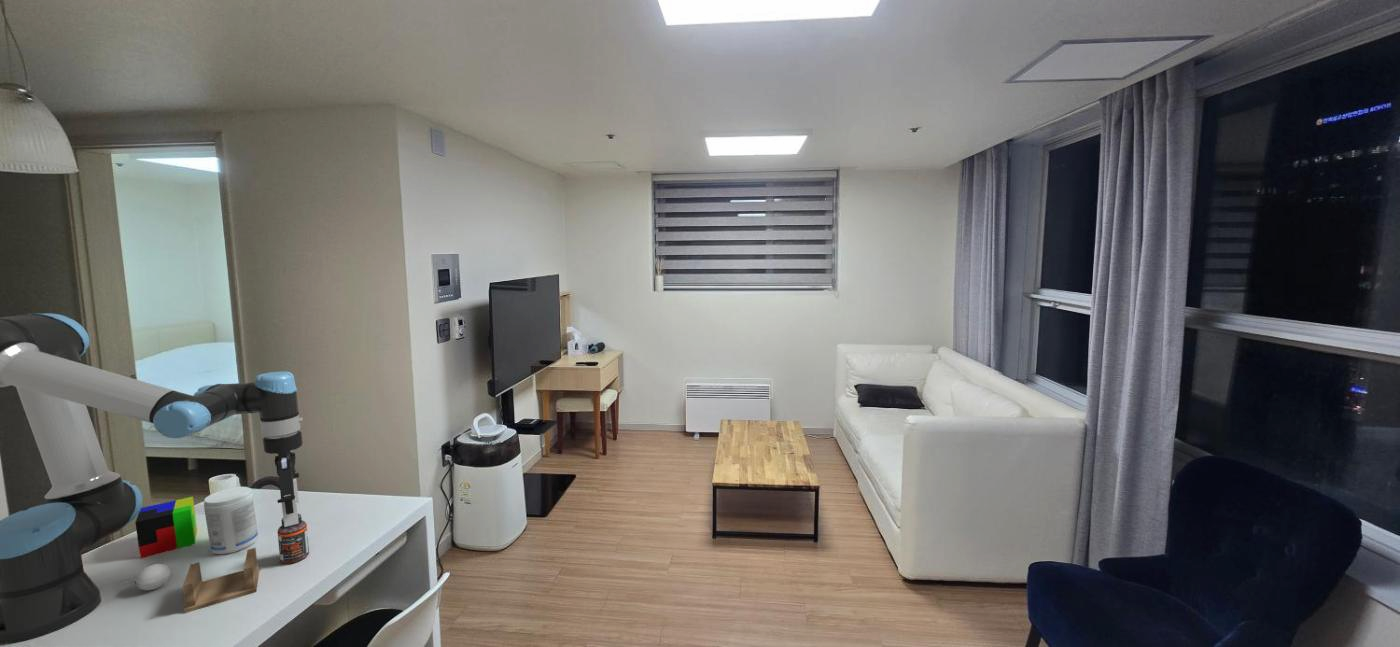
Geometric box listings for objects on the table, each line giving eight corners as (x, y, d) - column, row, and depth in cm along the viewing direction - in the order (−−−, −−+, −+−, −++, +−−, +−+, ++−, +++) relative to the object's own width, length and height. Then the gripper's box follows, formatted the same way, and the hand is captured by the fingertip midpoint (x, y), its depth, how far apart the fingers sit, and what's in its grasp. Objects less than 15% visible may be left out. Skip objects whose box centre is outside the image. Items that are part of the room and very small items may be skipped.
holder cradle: (184, 613, 112) (180, 587, 111) (192, 587, 121) (189, 563, 120) (256, 591, 119) (253, 567, 119) (259, 568, 128) (257, 546, 127)
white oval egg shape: (177, 578, 124) (174, 556, 123) (162, 592, 119) (159, 570, 118) (136, 585, 122) (132, 563, 121) (118, 600, 116) (115, 577, 116)
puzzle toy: (145, 542, 140) (140, 507, 138) (197, 529, 146) (192, 496, 145) (140, 558, 132) (135, 522, 131) (194, 544, 139) (190, 509, 137)
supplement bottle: (280, 567, 128) (275, 525, 127) (280, 557, 133) (275, 516, 132) (310, 559, 132) (306, 517, 131) (309, 548, 137) (304, 508, 135)
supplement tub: (258, 532, 145) (253, 482, 143) (258, 547, 138) (252, 495, 136) (211, 544, 139) (205, 492, 137) (208, 560, 131) (201, 506, 130)
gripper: (300, 444, 121) (310, 529, 124) (301, 418, 140) (310, 491, 143) (259, 452, 116) (270, 539, 119) (265, 424, 136) (275, 499, 139)
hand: (292, 513), depth 131 cm, fingers open, 13 cm apart
